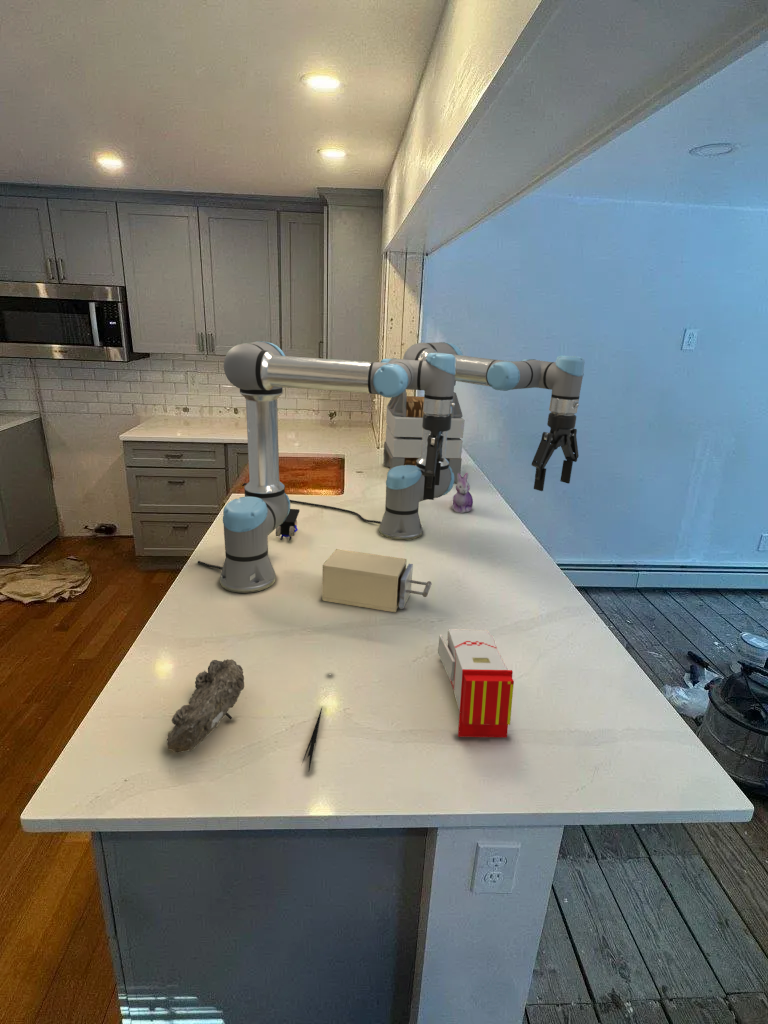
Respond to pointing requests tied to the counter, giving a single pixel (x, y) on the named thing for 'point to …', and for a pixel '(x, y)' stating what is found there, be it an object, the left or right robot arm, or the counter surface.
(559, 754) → the counter surface
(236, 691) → the fossil
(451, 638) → the toy
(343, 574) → the cabinet
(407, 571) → the drawer
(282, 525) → the figurine character
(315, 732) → the feather
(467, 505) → the figurine
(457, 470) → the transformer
